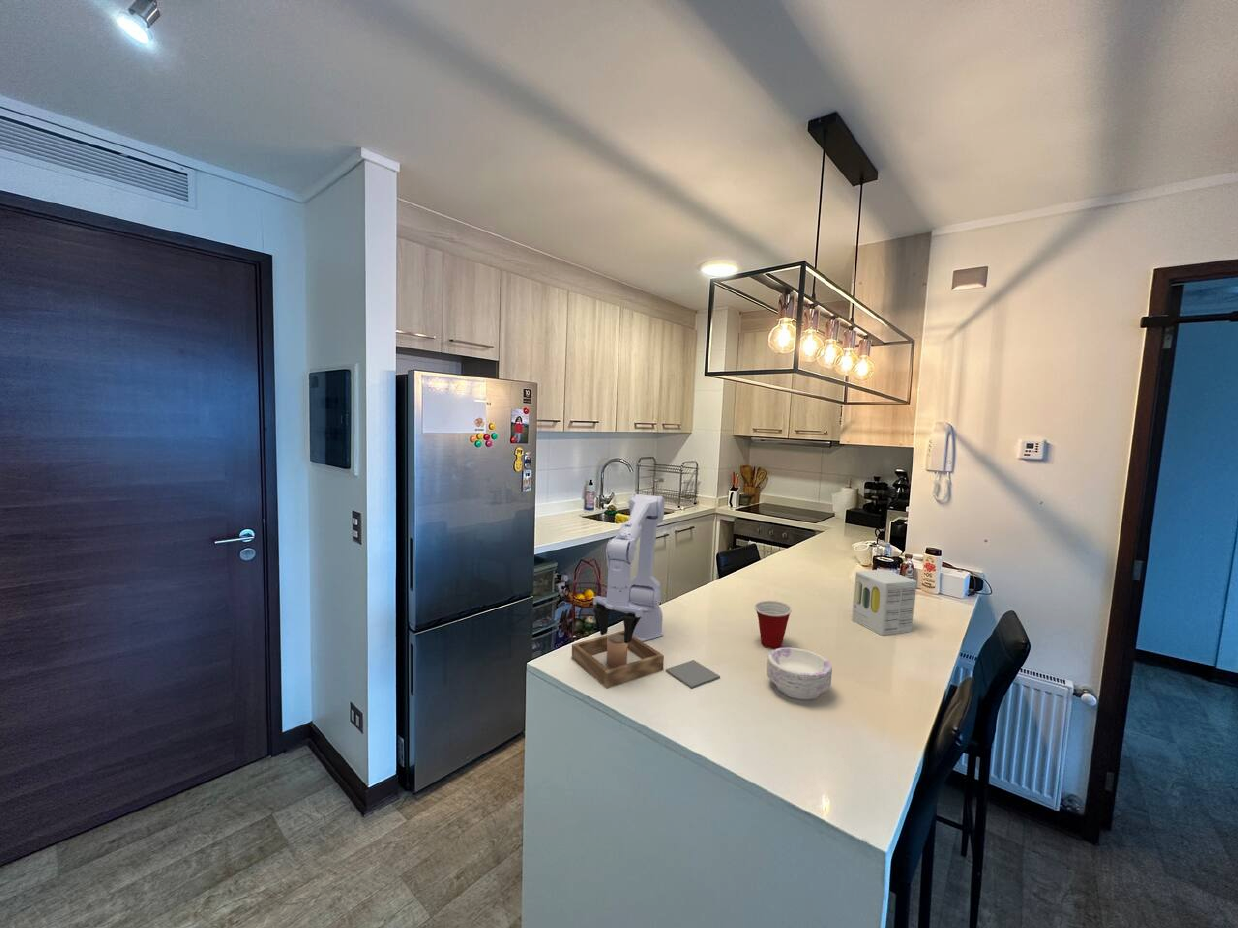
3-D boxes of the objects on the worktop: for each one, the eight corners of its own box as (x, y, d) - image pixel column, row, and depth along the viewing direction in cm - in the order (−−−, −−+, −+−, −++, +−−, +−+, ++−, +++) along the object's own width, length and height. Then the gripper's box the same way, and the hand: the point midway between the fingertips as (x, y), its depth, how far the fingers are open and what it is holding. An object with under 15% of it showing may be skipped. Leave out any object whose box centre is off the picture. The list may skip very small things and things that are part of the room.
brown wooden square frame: (624, 643, 145) (625, 630, 144) (663, 669, 130) (663, 655, 130) (571, 658, 135) (571, 644, 134) (606, 688, 120) (607, 672, 120)
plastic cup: (745, 639, 151) (747, 601, 150) (773, 634, 154) (776, 598, 153) (767, 655, 140) (769, 615, 139) (797, 650, 144) (800, 611, 143)
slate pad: (693, 661, 135) (693, 659, 135) (719, 678, 127) (720, 675, 127) (665, 671, 129) (665, 669, 129) (691, 688, 121) (691, 686, 121)
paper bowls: (776, 668, 133) (778, 640, 132) (835, 687, 124) (838, 657, 124) (757, 692, 121) (759, 661, 120) (821, 715, 112) (824, 682, 111)
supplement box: (850, 620, 169) (854, 570, 167) (880, 616, 173) (884, 568, 171) (882, 636, 156) (886, 583, 155) (913, 632, 160) (917, 580, 159)
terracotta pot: (619, 657, 136) (620, 632, 136) (630, 665, 132) (631, 640, 131) (602, 662, 133) (603, 636, 132) (613, 670, 129) (614, 644, 128)
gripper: (587, 582, 126) (583, 634, 127) (633, 594, 118) (629, 650, 118) (603, 578, 132) (600, 627, 132) (648, 589, 124) (645, 642, 124)
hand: (615, 637), depth 126 cm, fingers open, 7 cm apart
